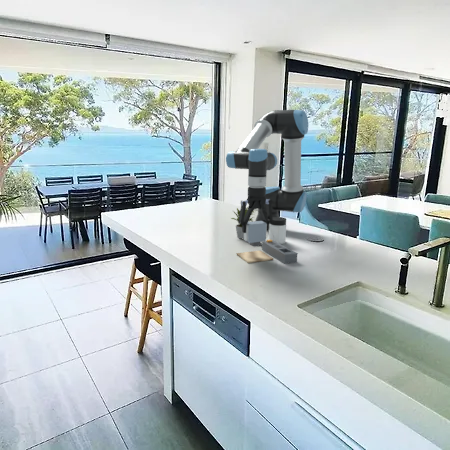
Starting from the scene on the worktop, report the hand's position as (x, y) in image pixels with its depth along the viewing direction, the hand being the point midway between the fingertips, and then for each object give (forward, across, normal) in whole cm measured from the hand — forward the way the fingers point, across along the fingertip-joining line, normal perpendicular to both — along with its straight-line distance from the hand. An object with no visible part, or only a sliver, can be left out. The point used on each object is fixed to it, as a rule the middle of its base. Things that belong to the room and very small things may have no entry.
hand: (255, 238), depth 162 cm
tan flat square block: (+8, 0, 0) cm, 8 cm away
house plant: (+8, +8, +29) cm, 31 cm away
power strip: (+8, +11, +2) cm, 14 cm away
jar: (+8, +21, +17) cm, 28 cm away
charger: (+3, 0, 0) cm, 3 cm away
